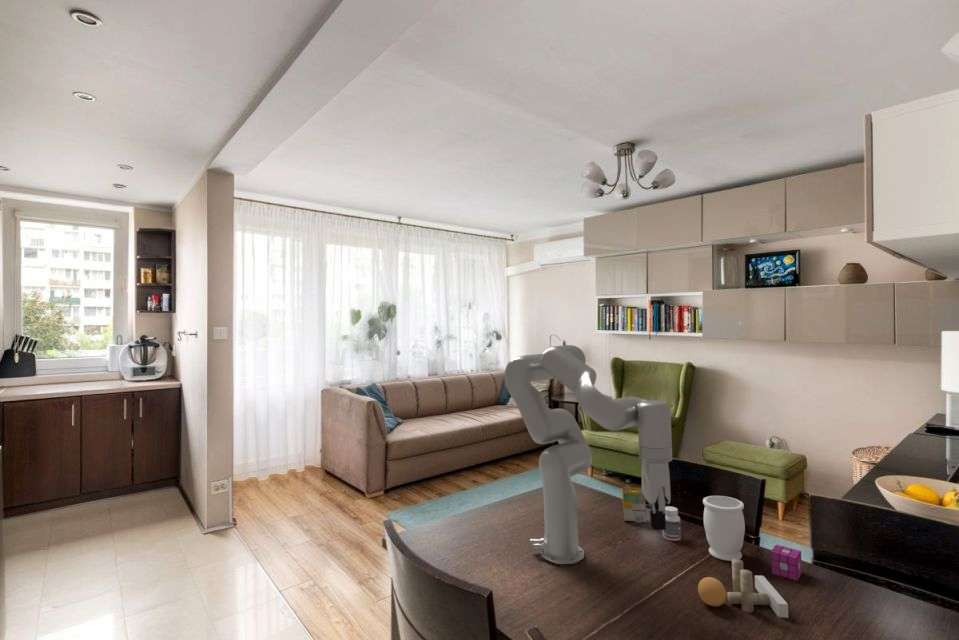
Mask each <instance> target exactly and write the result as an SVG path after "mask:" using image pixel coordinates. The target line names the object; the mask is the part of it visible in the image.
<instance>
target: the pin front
mask: <svg viewBox="0 0 959 640" xmlns="http://www.w3.org/2000/svg"><path fill="white" fill-rule="evenodd" d="M726 599H727V601H728V603H729V604H731V605H733V604H734V605H742V603H741V592H733V591H726ZM756 605H757V606H758V605H759V606H769V605H770V599H769V596H768V594H767V593H759V592H753V606H756Z"/></svg>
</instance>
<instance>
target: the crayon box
mask: <svg viewBox="0 0 959 640" xmlns="http://www.w3.org/2000/svg"><path fill="white" fill-rule="evenodd" d="M621 493H622V494H621V495H622V514H623V515H622V516H623V517H622V518H624V519H623V521H624V520H629V521H636V522H635V523H641V522H645V523H644V524H646V523H647V509H646V508H647V506H646V498H645V496H644V494H643V492H642V487H630V486H628V487H625V486H623V487H622V490H621Z"/></svg>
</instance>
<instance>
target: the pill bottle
mask: <svg viewBox="0 0 959 640" xmlns="http://www.w3.org/2000/svg"><path fill="white" fill-rule="evenodd" d="M678 513H679V509H678V508H677V507H674V506H669V505H668V506H666V505H665V519H666V529H665V530H662V537H663V539H666V540H667V541H671V542H672V541H673V542H675V541H680V540H682V530H681V529H682V528H681V517H680V516H679V514H678Z"/></svg>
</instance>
